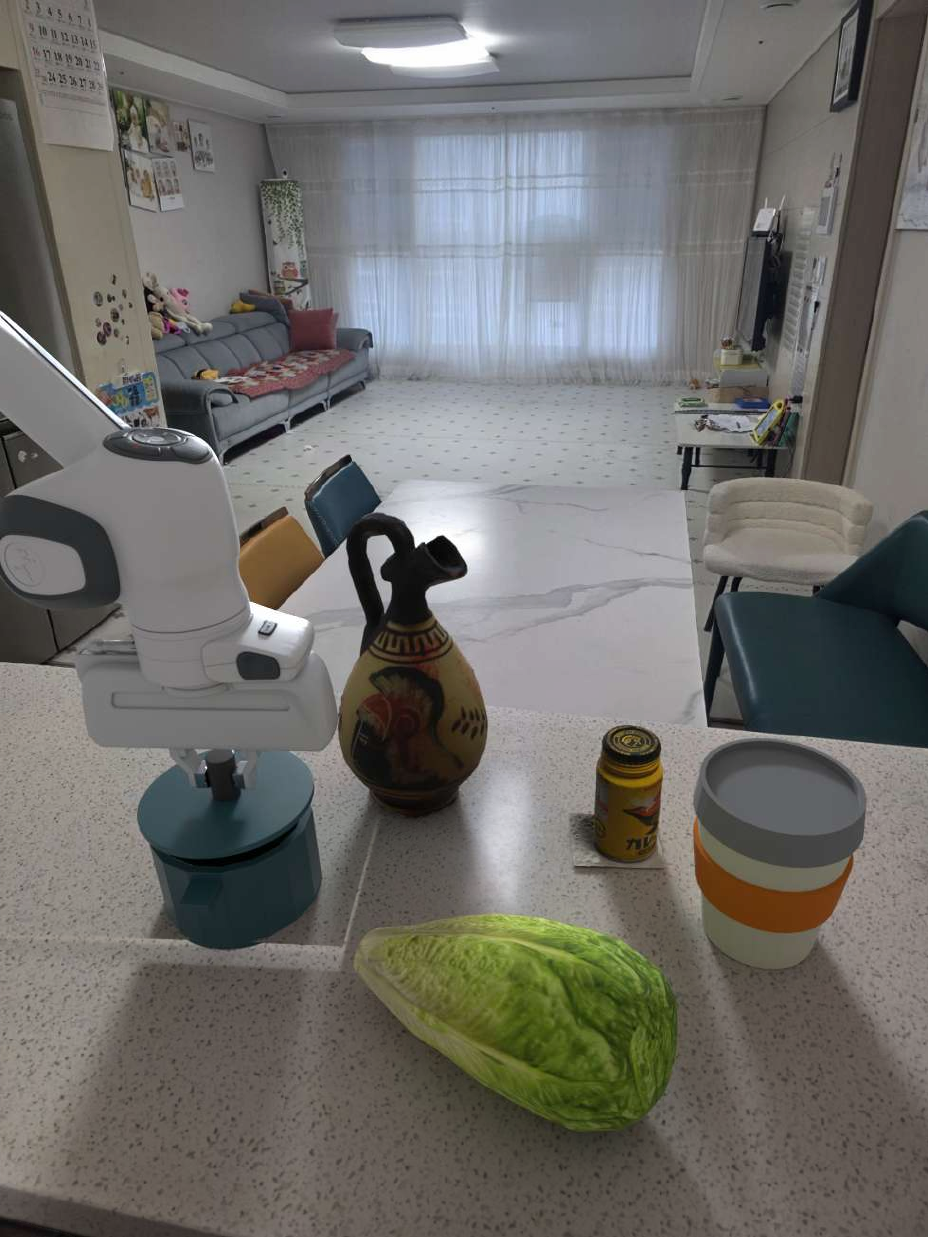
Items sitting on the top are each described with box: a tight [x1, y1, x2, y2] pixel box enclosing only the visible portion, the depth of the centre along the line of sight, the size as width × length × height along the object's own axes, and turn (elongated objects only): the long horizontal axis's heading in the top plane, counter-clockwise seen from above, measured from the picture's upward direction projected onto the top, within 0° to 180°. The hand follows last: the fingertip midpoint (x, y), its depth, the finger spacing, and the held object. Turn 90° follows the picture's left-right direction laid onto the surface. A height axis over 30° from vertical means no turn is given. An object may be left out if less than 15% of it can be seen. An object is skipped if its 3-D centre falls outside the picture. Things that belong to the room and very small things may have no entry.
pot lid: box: [136, 749, 315, 860], centre depth 70 cm, size 15×15×5 cm
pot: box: [149, 803, 323, 950], centre depth 73 cm, size 14×19×8 cm
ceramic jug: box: [337, 511, 489, 819], centre depth 82 cm, size 17×15×30 cm
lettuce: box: [353, 913, 679, 1133], centre depth 59 cm, size 12×24×13 cm
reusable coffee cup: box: [692, 737, 868, 970], centre depth 66 cm, size 13×13×15 cm
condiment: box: [569, 724, 666, 869], centre depth 77 cm, size 7×8×12 cm
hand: (225, 784), depth 70 cm, fingers closed on pot lid, 2 cm apart
